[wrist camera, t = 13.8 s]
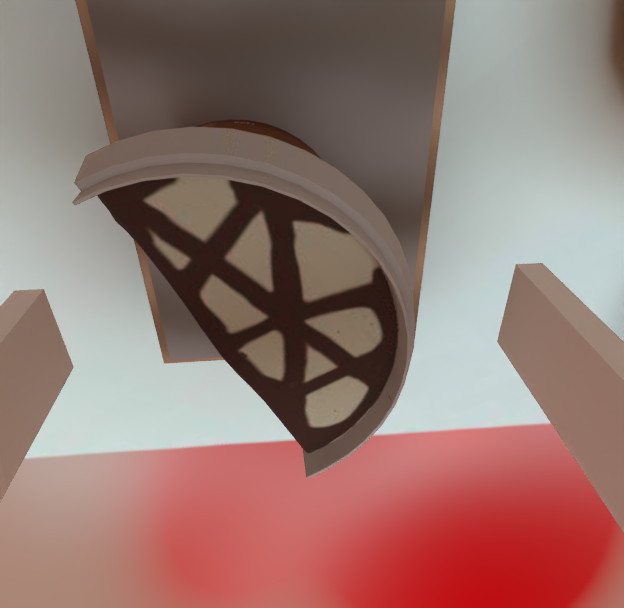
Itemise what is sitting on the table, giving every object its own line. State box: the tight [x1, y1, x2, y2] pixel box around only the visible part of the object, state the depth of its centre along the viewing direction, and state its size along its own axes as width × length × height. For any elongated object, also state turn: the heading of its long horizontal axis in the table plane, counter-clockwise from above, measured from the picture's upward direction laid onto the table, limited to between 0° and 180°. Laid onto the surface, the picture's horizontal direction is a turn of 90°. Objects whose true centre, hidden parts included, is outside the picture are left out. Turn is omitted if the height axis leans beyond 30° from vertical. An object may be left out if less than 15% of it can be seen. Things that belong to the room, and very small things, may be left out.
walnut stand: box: [75, 0, 456, 363], centre depth 23 cm, size 18×14×4 cm
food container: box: [73, 119, 415, 478], centre depth 17 cm, size 12×6×10 cm, turn 27°
